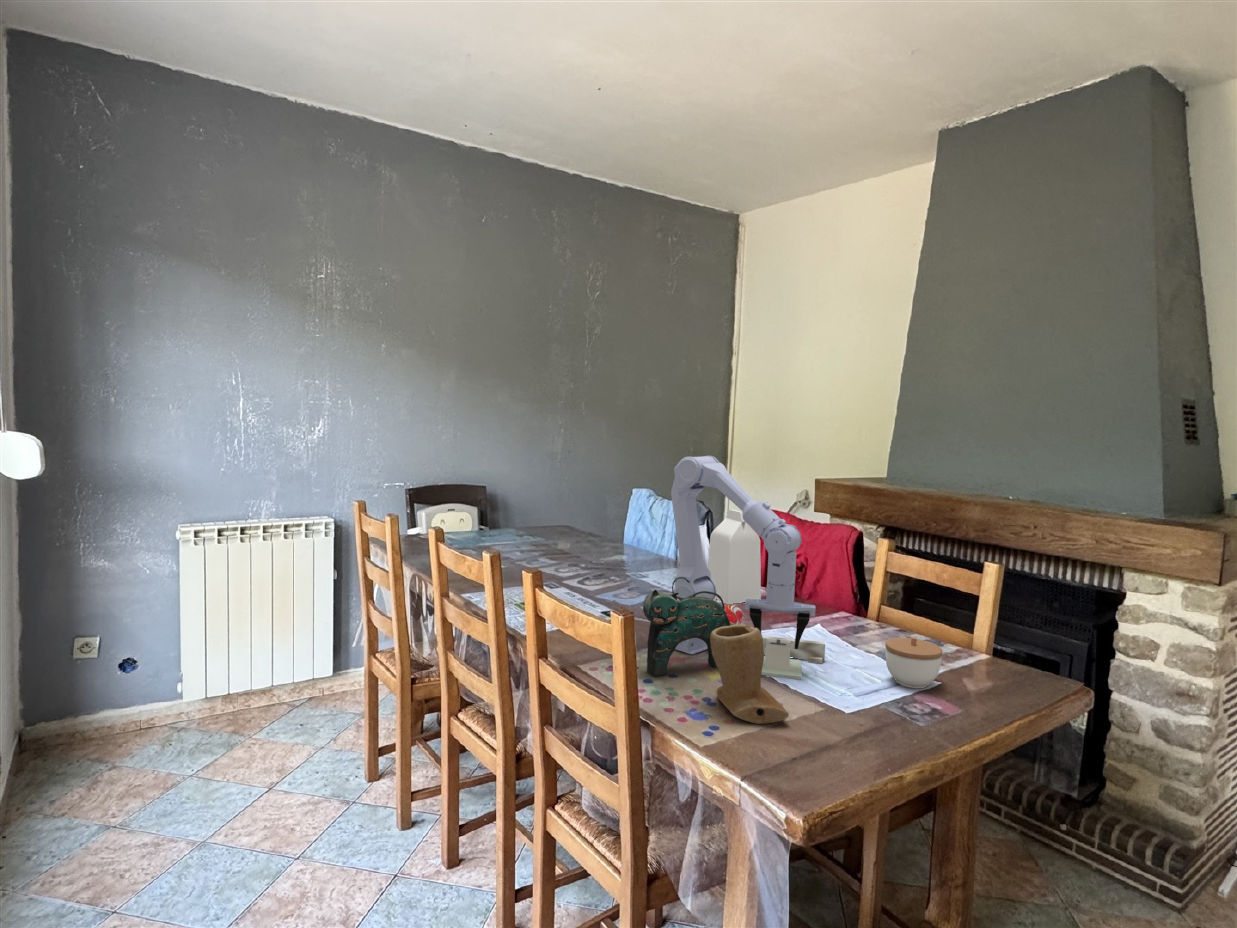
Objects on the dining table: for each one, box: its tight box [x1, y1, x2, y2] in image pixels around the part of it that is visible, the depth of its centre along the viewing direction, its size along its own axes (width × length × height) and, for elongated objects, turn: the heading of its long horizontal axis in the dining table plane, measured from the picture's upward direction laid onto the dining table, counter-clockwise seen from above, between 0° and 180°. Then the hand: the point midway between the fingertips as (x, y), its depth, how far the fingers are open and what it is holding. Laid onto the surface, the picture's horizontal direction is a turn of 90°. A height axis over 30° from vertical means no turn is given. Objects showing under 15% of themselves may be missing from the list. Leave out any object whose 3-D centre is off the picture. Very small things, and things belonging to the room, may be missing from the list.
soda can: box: [724, 604, 746, 626], centre depth 167 cm, size 7×7×12 cm
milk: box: [707, 508, 762, 605], centre depth 205 cm, size 12×12×26 cm
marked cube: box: [765, 638, 791, 671], centre depth 149 cm, size 5×5×5 cm
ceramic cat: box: [642, 577, 730, 678], centre depth 147 cm, size 20×6×20 cm, turn 112°
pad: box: [761, 656, 803, 680], centre depth 149 cm, size 10×10×1 cm
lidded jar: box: [885, 636, 943, 689], centre depth 143 cm, size 11×11×9 cm
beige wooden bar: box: [762, 635, 826, 664], centre depth 157 cm, size 20×4×4 cm, turn 76°
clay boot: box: [710, 624, 790, 725], centre depth 127 cm, size 15×12×15 cm
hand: (777, 645), depth 149 cm, fingers open, 7 cm apart
